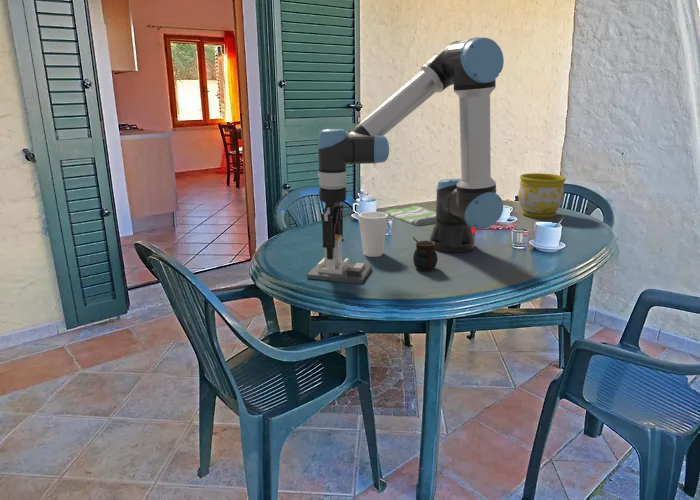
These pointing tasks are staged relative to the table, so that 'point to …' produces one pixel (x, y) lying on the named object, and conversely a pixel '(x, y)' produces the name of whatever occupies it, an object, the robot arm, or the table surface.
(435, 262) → the mate gourd
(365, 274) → the board
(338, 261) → the plug
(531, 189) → the flowerpot
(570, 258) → the table surface
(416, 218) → the dish towel
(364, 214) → the foam cup
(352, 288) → the table surface
